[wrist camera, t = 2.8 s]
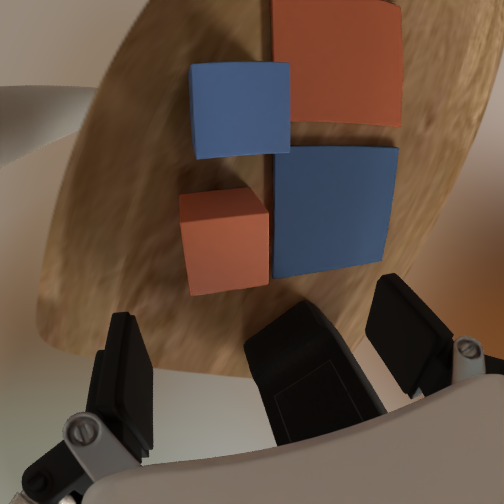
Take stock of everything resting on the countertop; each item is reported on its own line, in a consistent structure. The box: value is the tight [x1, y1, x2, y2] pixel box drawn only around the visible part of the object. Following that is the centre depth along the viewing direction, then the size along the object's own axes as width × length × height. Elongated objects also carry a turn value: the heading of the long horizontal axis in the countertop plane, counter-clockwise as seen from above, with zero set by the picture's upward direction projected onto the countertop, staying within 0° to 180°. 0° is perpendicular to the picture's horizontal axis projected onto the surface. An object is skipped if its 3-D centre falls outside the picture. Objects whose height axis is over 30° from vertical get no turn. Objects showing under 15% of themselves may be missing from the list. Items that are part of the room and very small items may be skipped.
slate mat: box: [272, 145, 399, 279], centre depth 20 cm, size 9×9×1 cm
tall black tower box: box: [244, 301, 388, 446], centre depth 15 cm, size 8×6×25 cm
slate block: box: [188, 61, 290, 159], centre depth 14 cm, size 4×4×4 cm
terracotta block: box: [179, 187, 269, 296], centre depth 17 cm, size 4×4×4 cm
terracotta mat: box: [270, 0, 403, 127], centre depth 15 cm, size 9×9×1 cm
